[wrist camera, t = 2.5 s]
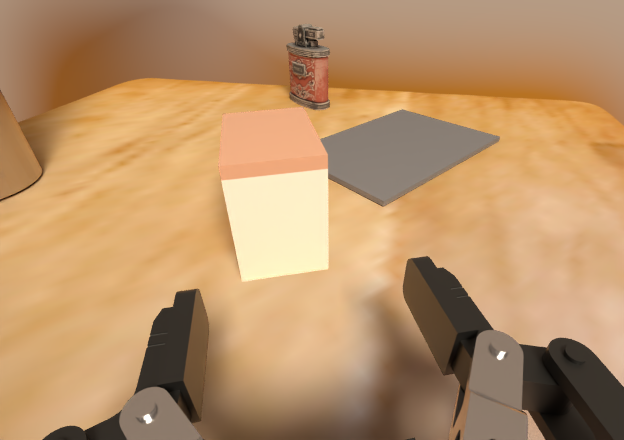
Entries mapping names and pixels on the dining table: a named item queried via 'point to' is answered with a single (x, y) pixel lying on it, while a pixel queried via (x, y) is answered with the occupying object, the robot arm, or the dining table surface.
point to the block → (275, 192)
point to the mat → (399, 153)
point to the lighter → (309, 68)
